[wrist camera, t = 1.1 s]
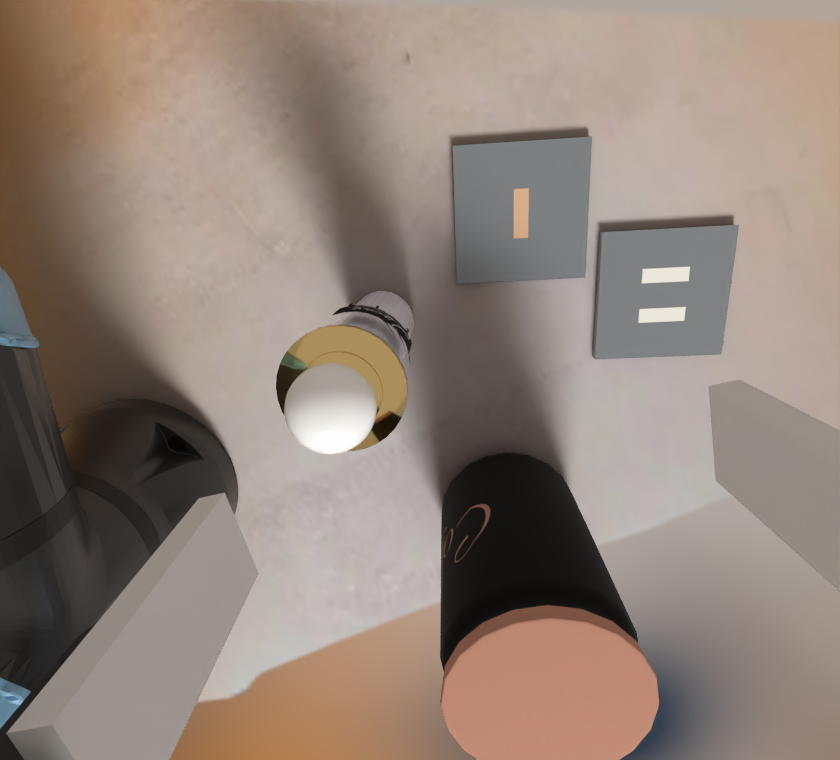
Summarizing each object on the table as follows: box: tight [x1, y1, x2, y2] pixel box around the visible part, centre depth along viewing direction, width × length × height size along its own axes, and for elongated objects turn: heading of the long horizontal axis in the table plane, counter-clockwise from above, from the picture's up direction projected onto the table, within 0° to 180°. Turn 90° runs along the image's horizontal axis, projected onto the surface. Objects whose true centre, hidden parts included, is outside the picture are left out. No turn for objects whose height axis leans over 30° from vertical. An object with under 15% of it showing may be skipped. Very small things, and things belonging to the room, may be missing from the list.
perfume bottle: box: [276, 291, 414, 454], centre depth 28 cm, size 6×6×20 cm
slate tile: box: [452, 137, 592, 284], centre depth 34 cm, size 9×9×1 cm
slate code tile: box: [593, 225, 739, 359], centre depth 35 cm, size 9×9×1 cm
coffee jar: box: [440, 453, 659, 760], centre depth 33 cm, size 11×11×18 cm
